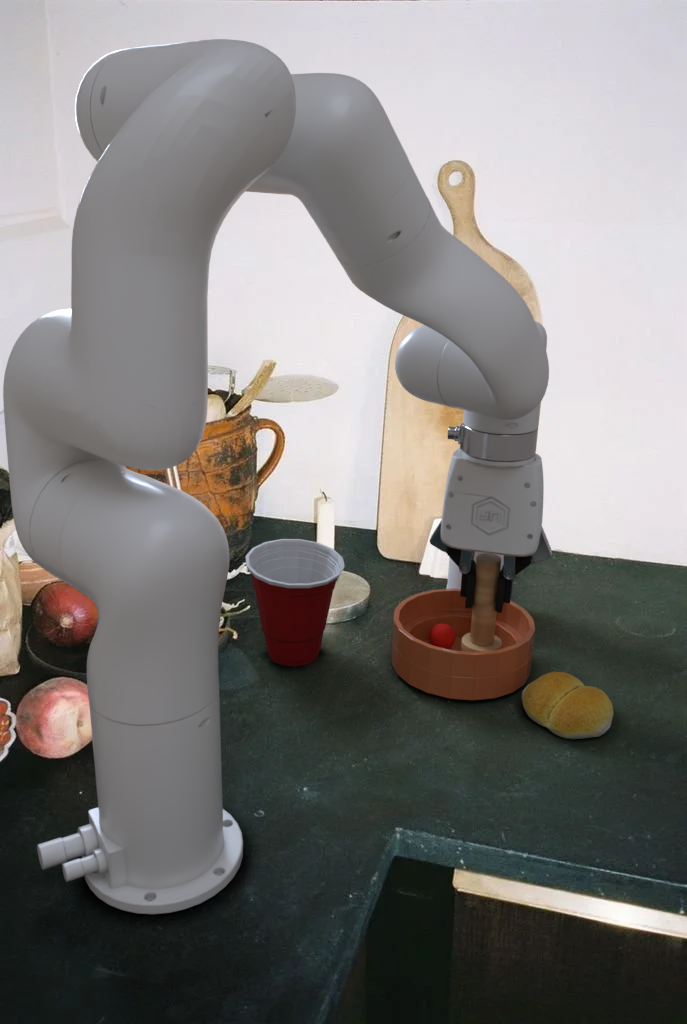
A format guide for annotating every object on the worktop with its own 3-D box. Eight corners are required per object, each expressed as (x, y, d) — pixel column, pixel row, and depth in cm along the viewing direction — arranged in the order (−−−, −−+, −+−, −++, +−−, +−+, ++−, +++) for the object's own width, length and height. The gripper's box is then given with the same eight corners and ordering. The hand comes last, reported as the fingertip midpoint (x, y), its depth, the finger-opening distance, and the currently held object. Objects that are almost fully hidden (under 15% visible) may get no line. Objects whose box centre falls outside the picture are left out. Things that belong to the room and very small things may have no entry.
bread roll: (580, 753, 90) (585, 717, 88) (508, 712, 96) (511, 678, 94) (630, 722, 95) (635, 688, 93) (558, 685, 101) (562, 652, 99)
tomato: (438, 657, 105) (439, 633, 104) (423, 645, 107) (424, 622, 106) (459, 651, 106) (461, 627, 105) (444, 639, 109) (446, 616, 108)
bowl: (444, 719, 94) (447, 667, 92) (366, 652, 107) (367, 605, 104) (558, 682, 102) (564, 633, 99) (473, 623, 114) (476, 579, 112)
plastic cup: (286, 690, 99) (286, 588, 94) (227, 650, 106) (225, 554, 102) (362, 658, 105) (365, 560, 101) (301, 622, 113) (302, 530, 109)
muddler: (477, 664, 101) (485, 569, 97) (453, 646, 104) (459, 554, 100) (509, 654, 103) (518, 561, 99) (484, 637, 106) (492, 546, 102)
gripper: (413, 444, 93) (404, 609, 100) (579, 461, 89) (559, 632, 96) (427, 425, 100) (418, 581, 107) (582, 439, 96) (562, 600, 103)
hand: (485, 603), depth 101 cm, fingers closed on muddler, 2 cm apart
